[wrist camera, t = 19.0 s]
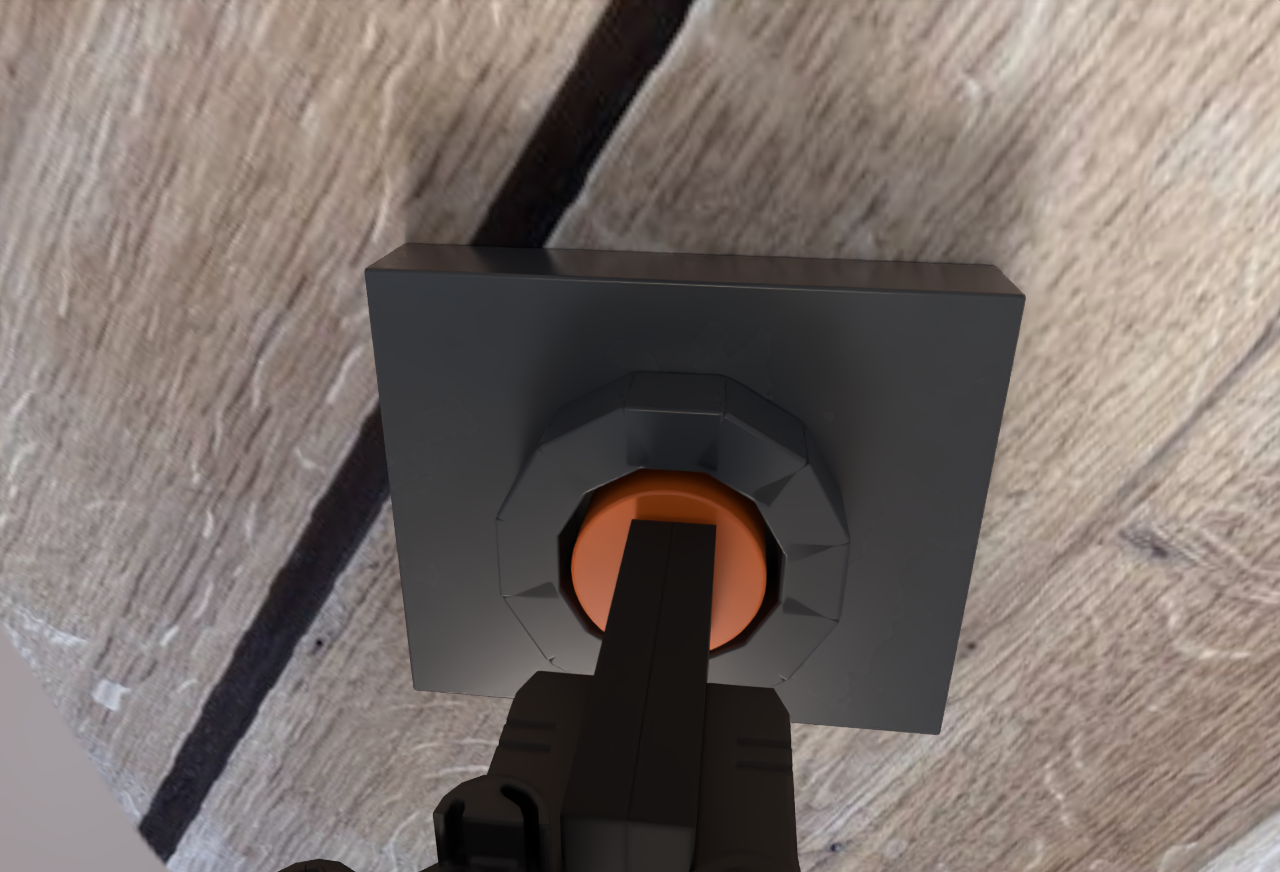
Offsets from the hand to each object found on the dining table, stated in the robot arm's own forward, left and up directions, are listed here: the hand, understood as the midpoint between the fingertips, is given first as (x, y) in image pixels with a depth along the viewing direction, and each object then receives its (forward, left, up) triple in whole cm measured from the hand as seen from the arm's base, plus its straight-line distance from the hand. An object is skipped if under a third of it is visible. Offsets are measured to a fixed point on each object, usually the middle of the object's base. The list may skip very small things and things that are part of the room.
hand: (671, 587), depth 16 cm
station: (0, 0, -5) cm, 5 cm away
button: (0, 0, -2) cm, 2 cm away
